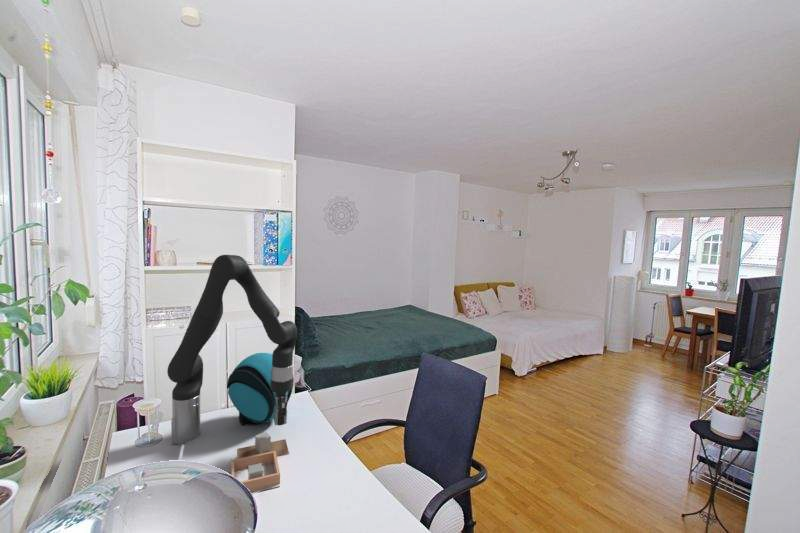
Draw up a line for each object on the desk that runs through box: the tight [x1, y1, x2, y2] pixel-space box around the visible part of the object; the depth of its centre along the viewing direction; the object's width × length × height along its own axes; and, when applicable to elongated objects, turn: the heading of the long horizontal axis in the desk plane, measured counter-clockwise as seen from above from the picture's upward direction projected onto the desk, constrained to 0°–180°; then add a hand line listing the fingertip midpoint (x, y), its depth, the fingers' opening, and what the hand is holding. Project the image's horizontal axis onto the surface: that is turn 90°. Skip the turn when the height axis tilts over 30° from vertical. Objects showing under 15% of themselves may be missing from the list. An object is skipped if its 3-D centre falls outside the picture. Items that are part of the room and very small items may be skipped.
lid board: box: [236, 438, 290, 459], centre depth 130 cm, size 17×10×1 cm, turn 116°
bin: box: [230, 451, 281, 493], centre depth 116 cm, size 14×13×4 cm
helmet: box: [226, 352, 295, 426], centre depth 149 cm, size 26×24×30 cm
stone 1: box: [247, 463, 264, 480], centre depth 114 cm, size 4×4×5 cm
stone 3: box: [273, 407, 288, 426], centre depth 130 cm, size 4×4×5 cm
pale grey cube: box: [254, 431, 272, 453], centre depth 131 cm, size 4×4×5 cm
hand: (280, 421), depth 131 cm, fingers closed on stone 3, 4 cm apart
